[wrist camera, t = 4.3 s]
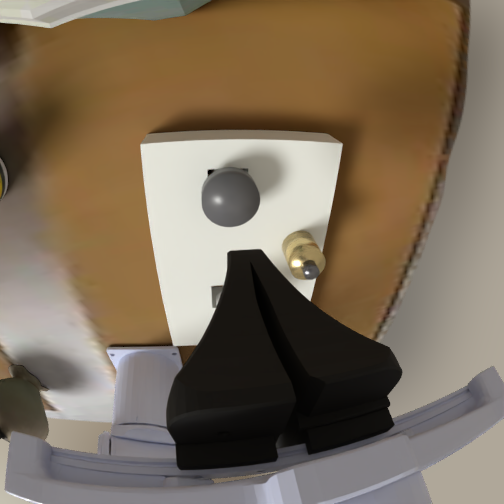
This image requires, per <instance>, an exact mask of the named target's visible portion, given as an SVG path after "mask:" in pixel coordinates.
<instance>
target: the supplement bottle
mask: <svg viewBox="0 0 504 504" xmlns="http://www.w3.org/2000/svg"><path fill="white" fill-rule="evenodd" d="M7 186H8V175H7V171H6V167H5V165H4V163H3V161H2V160H1V158H0V200H1V199H2V198H3V197H4V195H5V193H6V190H7Z"/></svg>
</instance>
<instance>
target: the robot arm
mask: <svg viewBox="0 0 504 504" xmlns="http://www.w3.org/2000/svg"><path fill="white" fill-rule="evenodd" d="M107 353H108V355H109V357H110V359H111V361H112V363H113V364H114V366H115V368H116V370H117V375H116V384H115V394H114V405H113V418H112V427H111V434H110V435H109V432H107V431H104V432H103V434H101V435H99V439H98V454H94V453H87V452H80V451H74V450H68V449H62V448H57V447H52V446H51V445H50V444H49V443H47V442H46V441H44V440H43V439H40V438H38V437H35V436H31V435H27V434H23V433H19V432H15V431H12V432H11V438H10V444H9V451H8V459H7V468H6V479H5V491H6V493H8V494H11V495H13V496H15V497H18V498H21V499H23V500H26V501H29V502H32V503H35V504H432V501H431V498H430V495H429V493H428V490H427V487H426V484H425V481H424V479H423V476H422V474H421V471H422V470H424V469H426V468H428V467H430V466H432V465H434V464H436V463H437V462H439V461H441V460H443V459H444V458H446V457H448V456H450V455H451V454H453V453H454V452H456V451H458V450H459V449H461V448H463V447H464V446H466V445H467V444H469V443H470V442H472V441H473V440H475V439H476V438H478V437H479V436H481V435H482V434H484V433H485V432H486V431H488V430H489V429H490V428H492V427H493V426H494V425H496V424H497V423H498V422H499V421H501V420H502V419H503V418H504V383H503V381H502V379H501V378H500V376H499V374H498V372H497V371H496V369H495V367H494V366H492V367H490V368H488V369H486V370H484V371H482V372H481V373H479V374H478V375H477V376H475V377H474V378H473V379H472V380H471V381H470V382H469V383H468V385H467V386H465V387H463V388H461V389H459V390H458V391H455V392H453V393H451V394H449V395H447V396H445V397H443V398H441V399H439V400H437V401H434V402H432V403H430V404H427V405H425V406H423V407H421V408H418V409H415V410H413V411H410V412H408V413H405V414H403V415H400V416H398V417H395V418H392V417H391V415H390V413H389V410H388V408H387V407H389V406H390V402H389V399H388V397H387V395H388V394H389V393H390V392H391V390H392V389H393V388H394V387H395V385H396V384H397V383H398V381H399V380H400V378H401V376H402V369H401V367H400V366H399V363H398V361H397V359H396V357H395V355H394V354H393V352H392V351H391V349H390V348H389V347H388V346H385V345H383V344H381V343H378V342H376V341H374V340H371V339H369V338H367V337H365V336H363V335H361V334H359V333H357V332H355V331H353V330H351V329H350V328H348V327H346V326H345V325H343V324H341V323H340V322H338V321H337V320H335V319H334V318H332V317H330V316H329V315H328V314H326V313H325V312H323V311H322V310H321V309H319V308H318V307H317V306H316V305H314V304H313V303H312V302H310V301H309V300H308V299H307V298H306V297H305V296H304V295H303V294H302V293H300V292H299V291H298V290H297V289H296V288H295V287H294V286H293V285H292V284H291V283H290V282H289V281H288V280H287V279H286V277H285V276H284V275H283V274H282V273H281V272H280V271H279V270H278V269H277V267H276V266H275V265H274V264H273V263H272V262H271V260H270V259H269V258H268V257H267V255H266V254H265V253H264V252H263V251H262V250H261V249H249V250H232V251H229V252H228V253H227V273H226V277H225V281H224V286H223V289H222V292H221V295H220V298H219V301H218V304H217V307H216V309H215V312H214V314H213V316H212V319H211V321H210V323H209V325H208V327H207V329H206V331H205V333H204V335H203V336H202V338H201V340H200V342H199V343H198V345H197V346H196V348H195V350H194V351H193V353H192V354H191V356H190V357H189V359H188V360H187V362H186V363H185V364H184V366H182V362H181V357H180V353H179V349H178V347H176V346H156V347H108V348H107ZM274 471H278V472H276V473H272V474H267V475H262V476H258V477H252V478H247V479H241V480H235V481H228V482H221V483H214V481H213V480H211V479H215V478H227V477H237V476H246V475H254V474H261V473H268V472H274Z"/></svg>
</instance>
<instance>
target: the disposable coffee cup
mask: <svg viewBox="0 0 504 504" xmlns="http://www.w3.org/2000/svg"><path fill="white" fill-rule="evenodd" d="M210 1H211V0H0V22H2V23H15V24H24V25H33V26H40V27H47V28H53V27H55V26H58V25H60V24H63V23H65V22H68V21H71V20H73V19H76V18H129V19H145V20H160V19H166V18H172V17H179V16H186V15H187V14H189V13H191V12H192V11H194V10H196V9H197V8H199V7H201V6H202V5H204V4H206V3H208V2H210Z"/></svg>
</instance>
